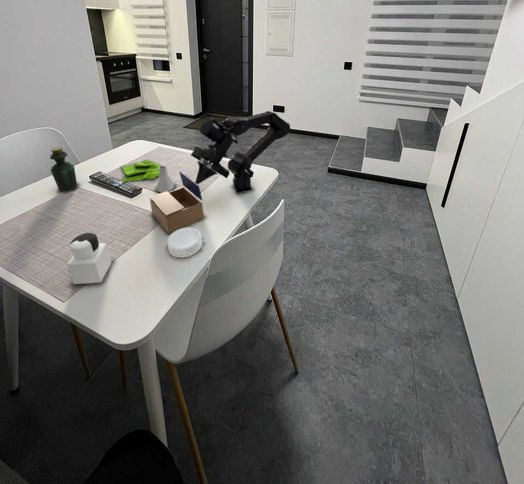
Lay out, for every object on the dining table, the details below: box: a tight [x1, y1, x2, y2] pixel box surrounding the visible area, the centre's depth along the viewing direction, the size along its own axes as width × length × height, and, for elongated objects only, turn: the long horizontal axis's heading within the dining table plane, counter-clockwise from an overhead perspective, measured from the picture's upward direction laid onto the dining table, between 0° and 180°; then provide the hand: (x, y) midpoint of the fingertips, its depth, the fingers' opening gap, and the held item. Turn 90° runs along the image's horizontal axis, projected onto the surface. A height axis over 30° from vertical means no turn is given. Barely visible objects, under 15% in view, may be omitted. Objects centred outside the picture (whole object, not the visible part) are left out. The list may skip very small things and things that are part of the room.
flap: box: [178, 170, 203, 202], centre depth 102 cm, size 6×14×1 cm
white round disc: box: [167, 226, 203, 259], centre depth 87 cm, size 10×10×4 cm
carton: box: [149, 186, 205, 235], centre depth 101 cm, size 13×14×7 cm
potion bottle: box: [49, 146, 78, 193], centre depth 117 cm, size 8×8×18 cm
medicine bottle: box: [66, 232, 112, 285], centre depth 76 cm, size 7×7×12 cm
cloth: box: [121, 159, 161, 182], centre depth 134 cm, size 20×22×2 cm
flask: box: [155, 165, 175, 193], centre depth 118 cm, size 7×7×10 cm
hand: (196, 183), depth 103 cm, fingers closed
